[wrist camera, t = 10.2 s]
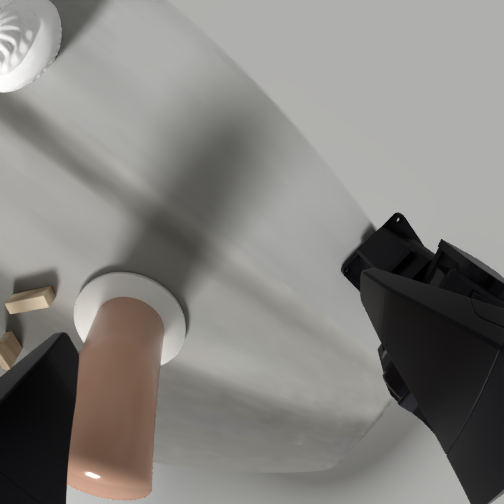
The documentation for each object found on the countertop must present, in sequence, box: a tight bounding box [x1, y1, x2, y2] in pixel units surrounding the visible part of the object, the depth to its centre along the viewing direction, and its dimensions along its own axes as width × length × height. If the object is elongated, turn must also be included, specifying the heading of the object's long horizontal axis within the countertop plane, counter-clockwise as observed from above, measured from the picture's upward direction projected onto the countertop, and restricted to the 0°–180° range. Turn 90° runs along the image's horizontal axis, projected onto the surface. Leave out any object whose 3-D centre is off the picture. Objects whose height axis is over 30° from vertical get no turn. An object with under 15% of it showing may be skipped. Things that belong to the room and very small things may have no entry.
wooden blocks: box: [0, 286, 56, 370], centre depth 22 cm, size 8×9×3 cm
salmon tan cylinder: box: [67, 297, 164, 500], centre depth 17 cm, size 6×6×13 cm
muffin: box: [0, 0, 62, 92], centre depth 11 cm, size 6×6×7 cm
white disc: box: [74, 272, 186, 366], centre depth 23 cm, size 9×9×1 cm
